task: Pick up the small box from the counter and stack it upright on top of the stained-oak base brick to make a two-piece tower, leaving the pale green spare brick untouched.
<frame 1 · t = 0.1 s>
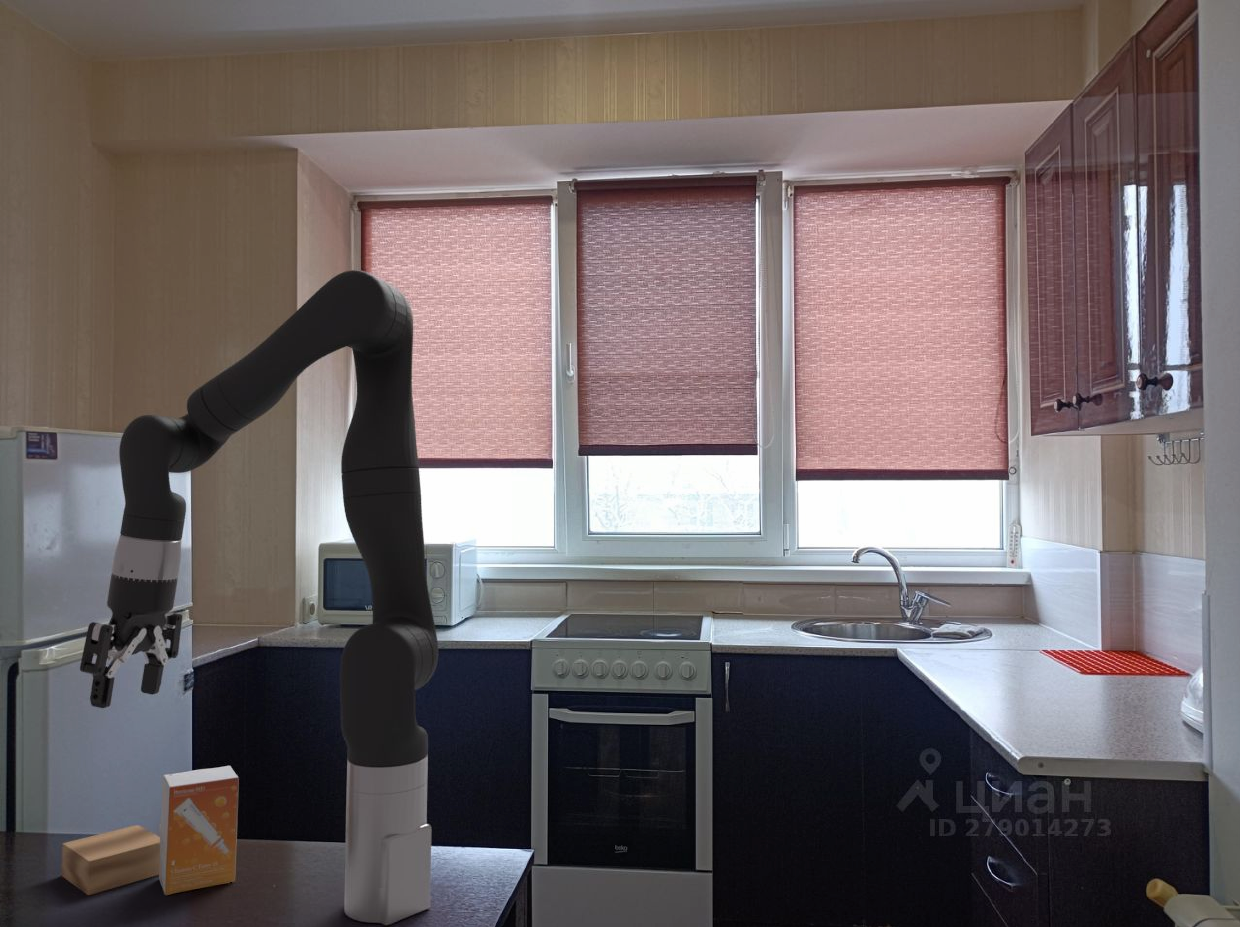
hand: (125, 699, 113), 22 cm above the table, tool pointing down, fingers open, 8 cm apart
spare brick: (185, 855, 120), on the table
small box: (197, 882, 112), on the table
base brick: (113, 874, 114), on the table
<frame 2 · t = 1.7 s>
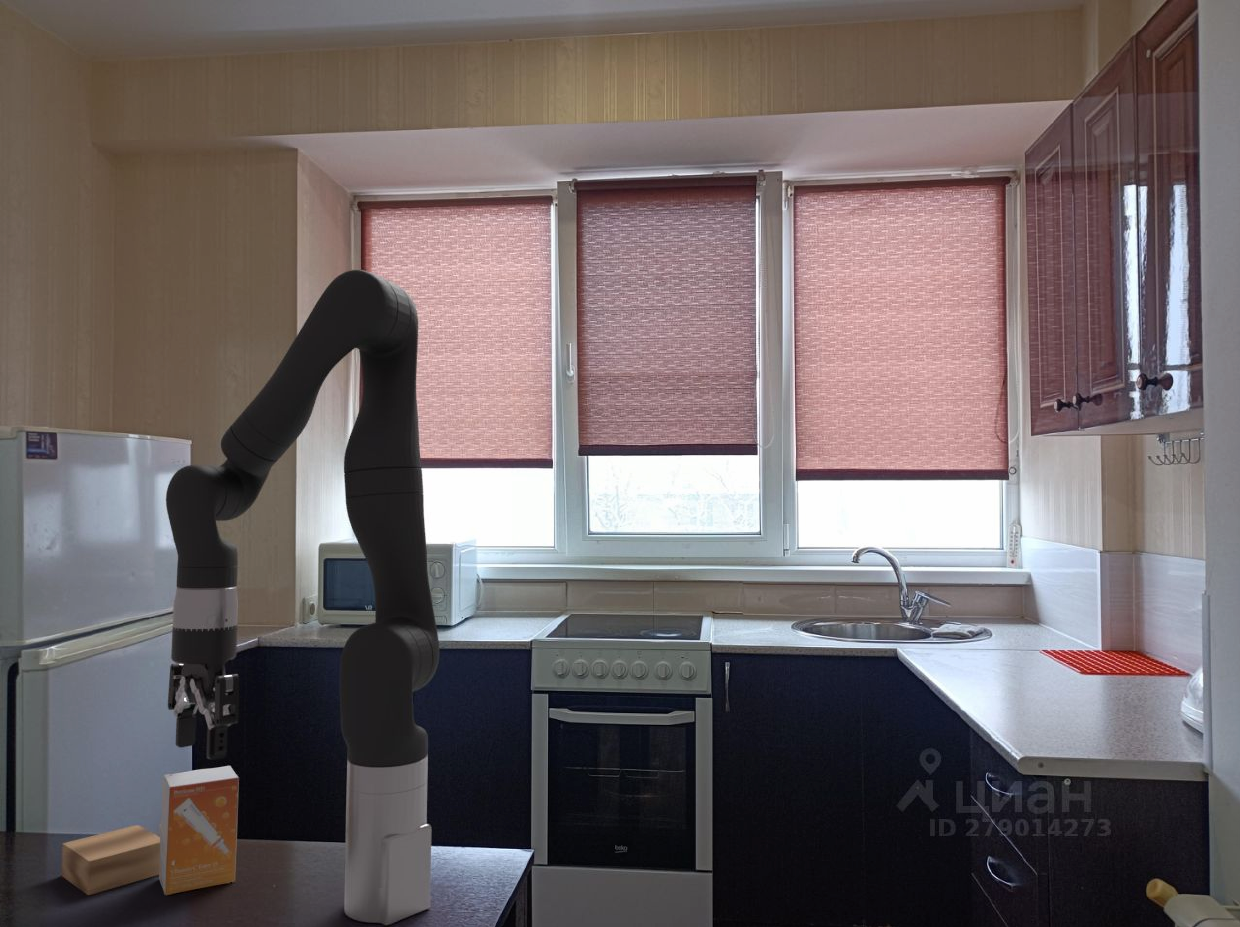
hand: (200, 752, 113), 16 cm above the table, tool pointing down, fingers open, 8 cm apart
nothing on the table moved.
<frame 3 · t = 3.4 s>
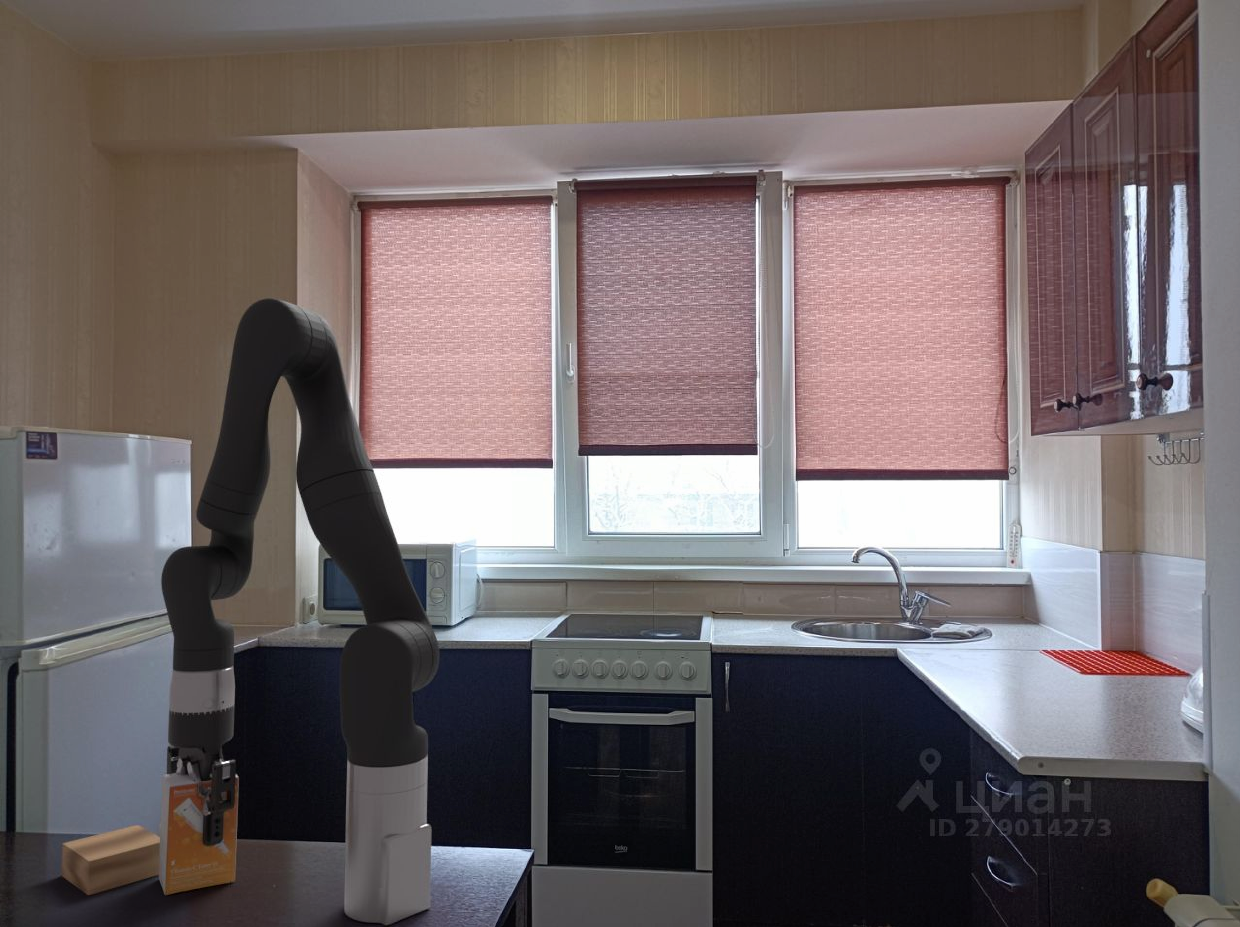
hand: (198, 836, 112), 5 cm above the table, tool pointing down, fingers closed on small box, 7 cm apart
small box: (196, 882, 112), on the table, touching gripper
everything else where it was.
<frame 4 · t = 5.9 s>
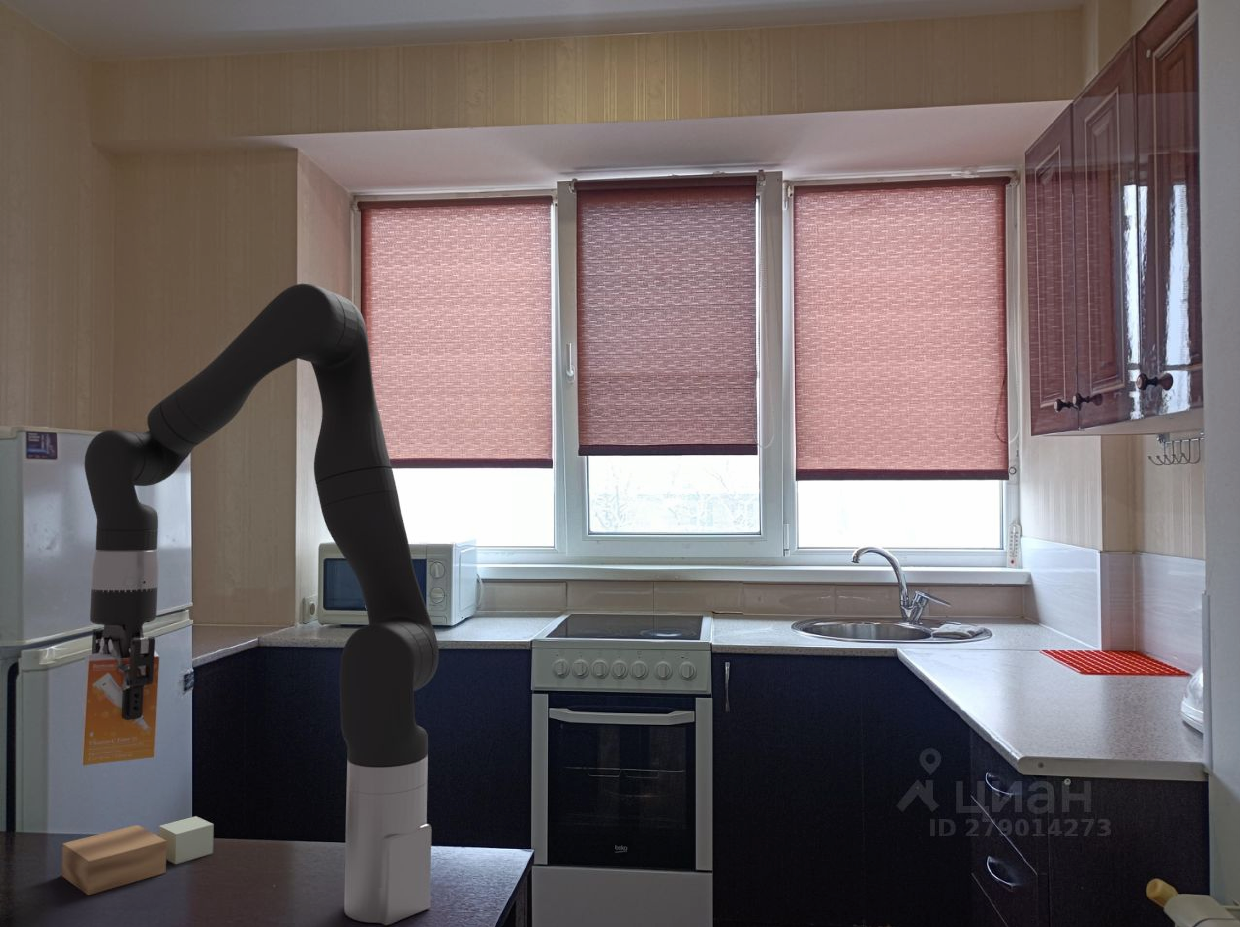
hand: (119, 713, 115), 20 cm above the table, tool pointing down, fingers closed on small box, 7 cm apart
small box: (117, 758, 114), point 15 cm above the table, touching gripper
everything else where it was.
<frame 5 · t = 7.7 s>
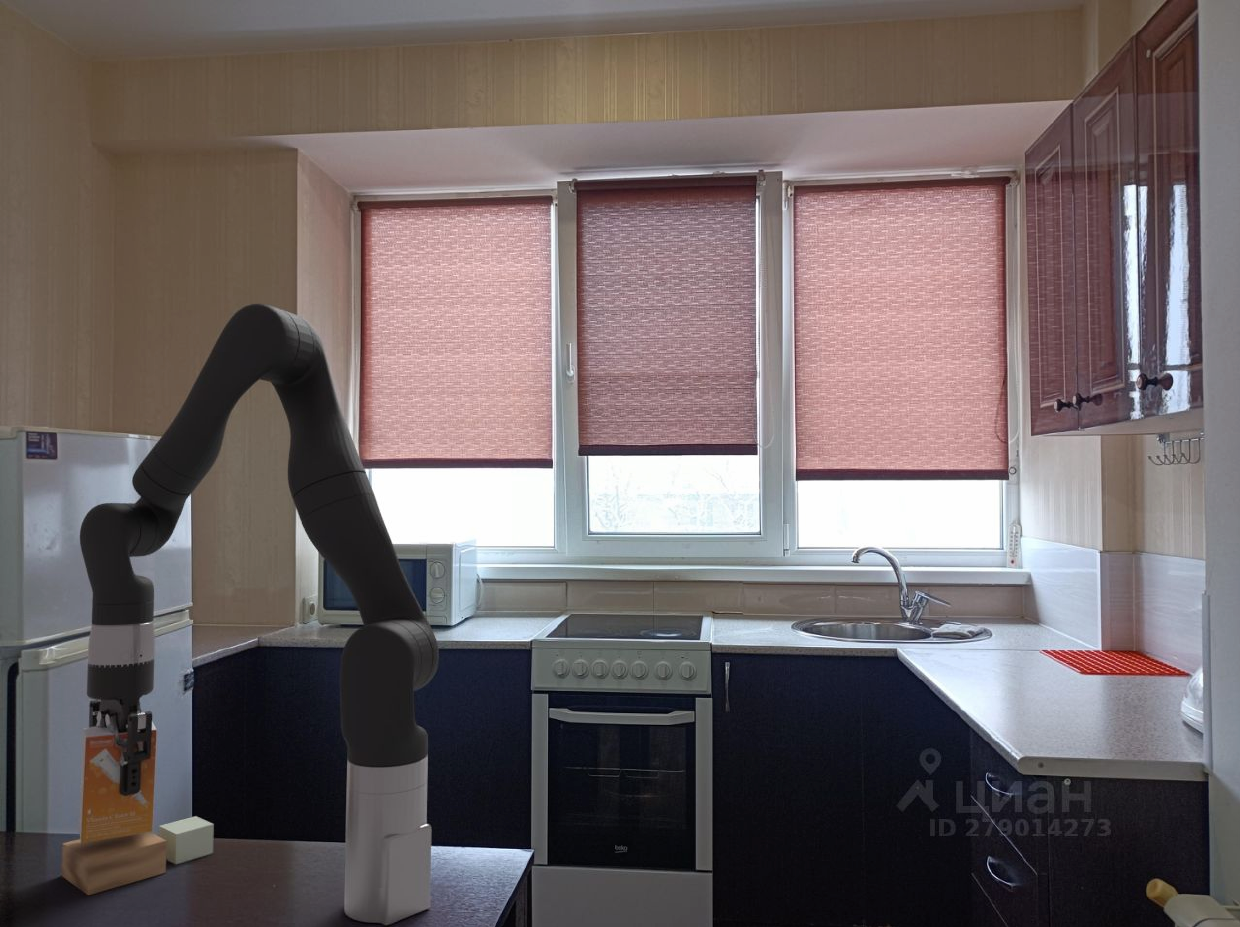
hand: (117, 787, 114), 11 cm above the table, tool pointing down, fingers closed on small box, 7 cm apart
small box: (115, 832, 114), point 5 cm above the table, touching gripper
everything else where it was.
when the fingers open (11 cm above the table, at t = 8.6 s): small box drops 1 cm, resting on base brick.
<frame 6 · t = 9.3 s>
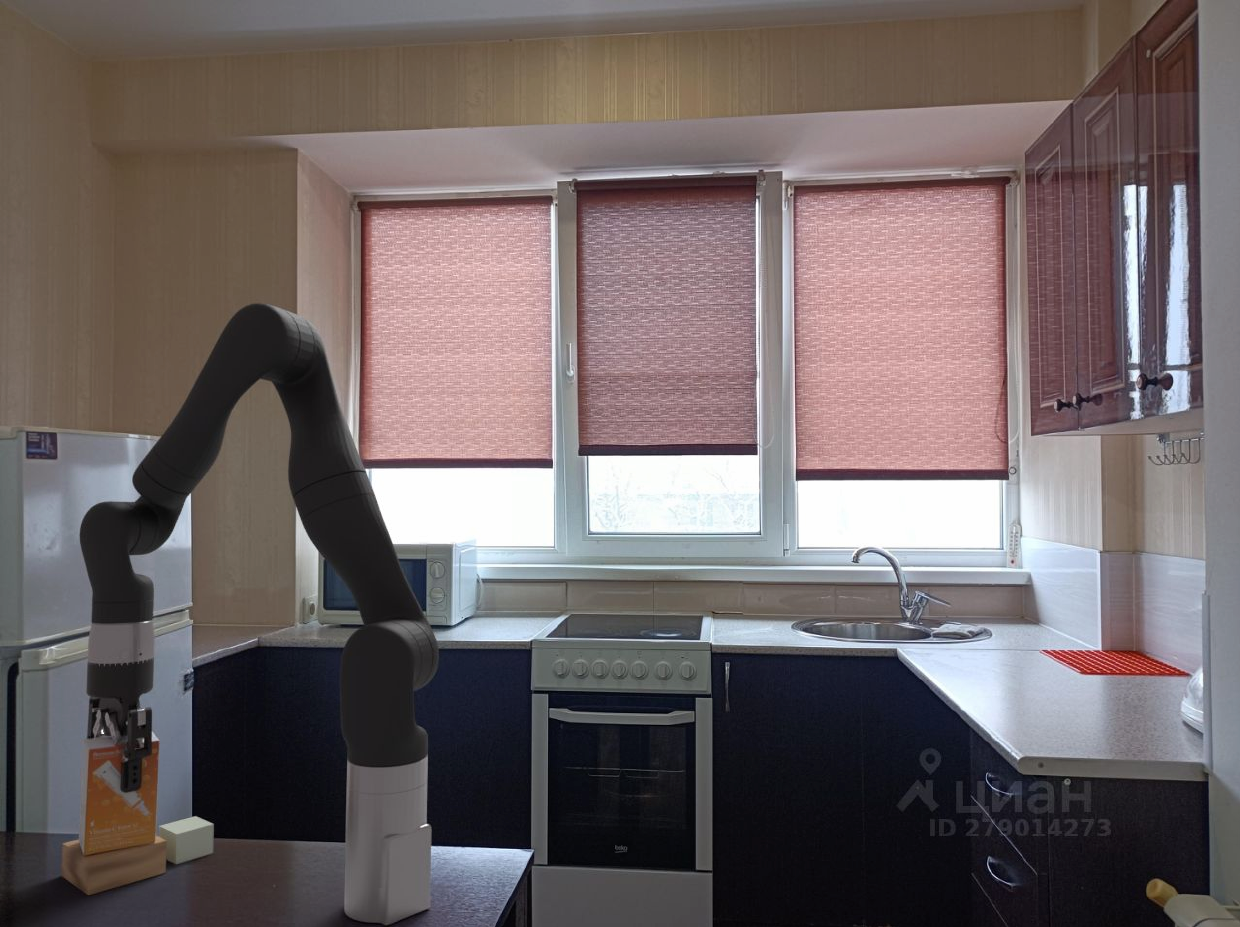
hand: (117, 784, 114), 11 cm above the table, tool pointing down, fingers open, 8 cm apart
small box: (117, 844, 114), point 4 cm above the table, touching base brick, gripper
everything else where it was.
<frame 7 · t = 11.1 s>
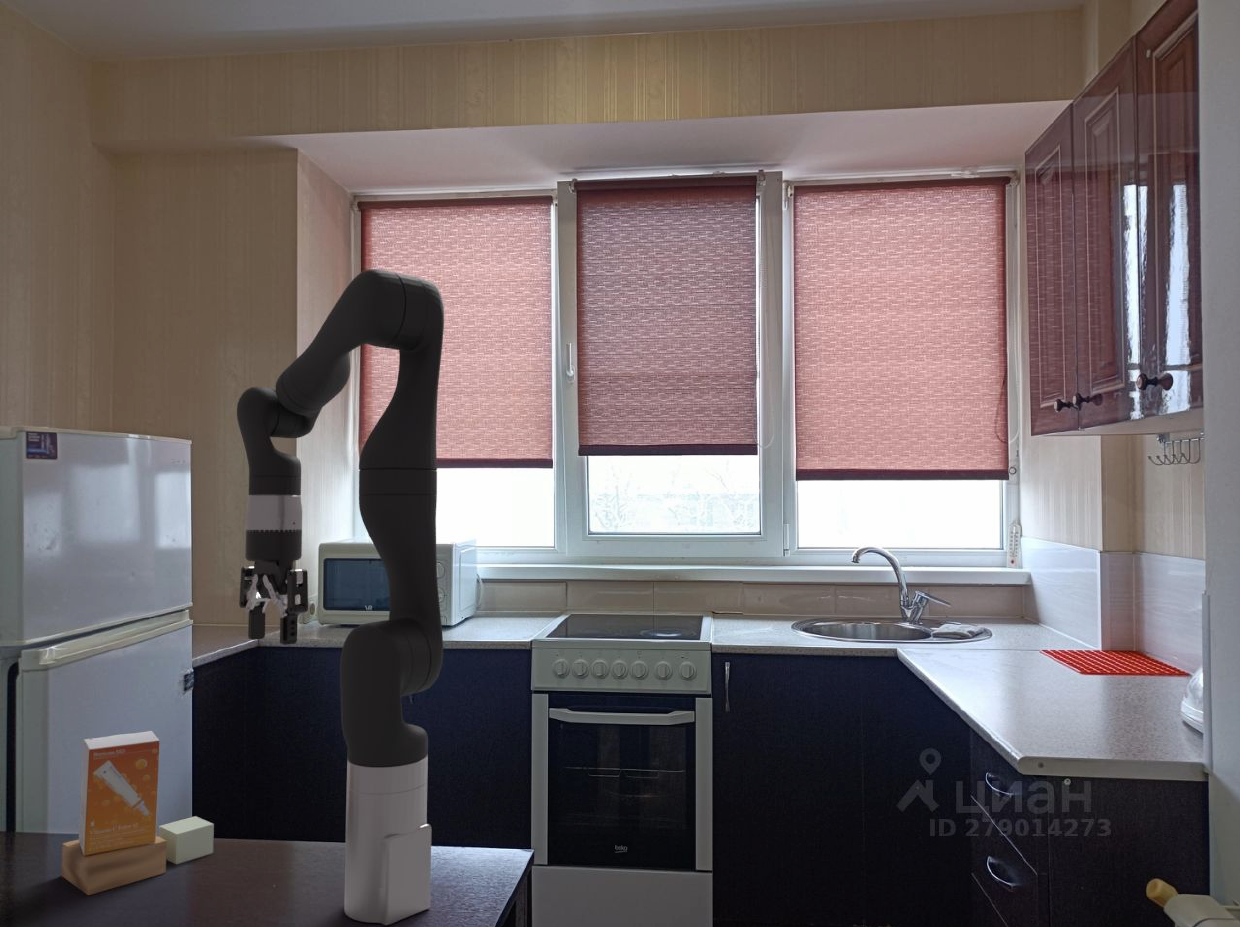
hand: (272, 641, 127), 28 cm above the table, tool pointing down, fingers open, 8 cm apart
small box: (117, 844, 114), point 4 cm above the table, touching base brick
everything else where it was.
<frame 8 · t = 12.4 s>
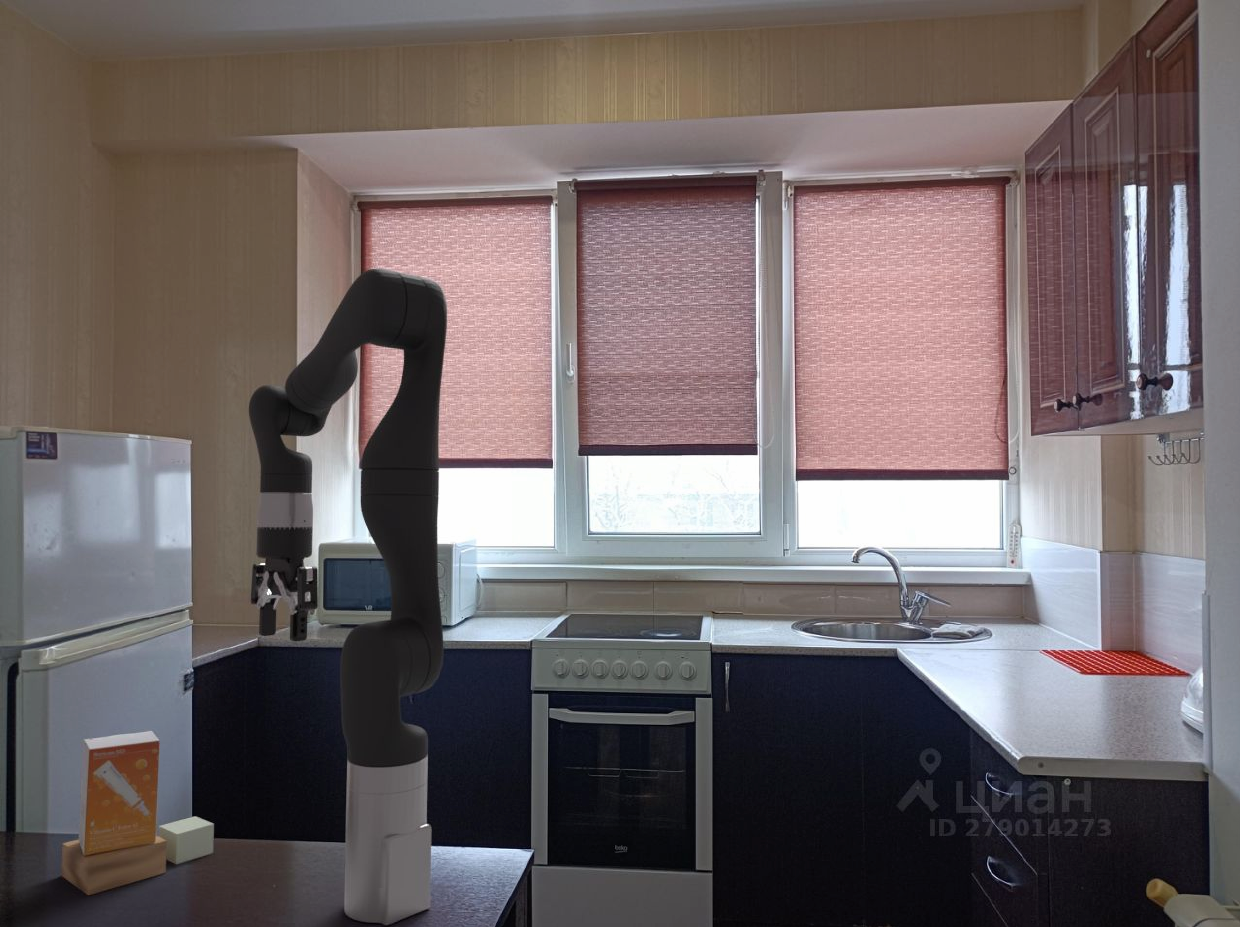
hand: (282, 638, 128), 28 cm above the table, tool pointing down, fingers open, 8 cm apart
nothing on the table moved.
at the end: small box inside the target area on the base brick (0.6 cm from its centre), point 3.8 cm above the base brick's base; small box tilted 0°; the gripper is holding nothing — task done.
